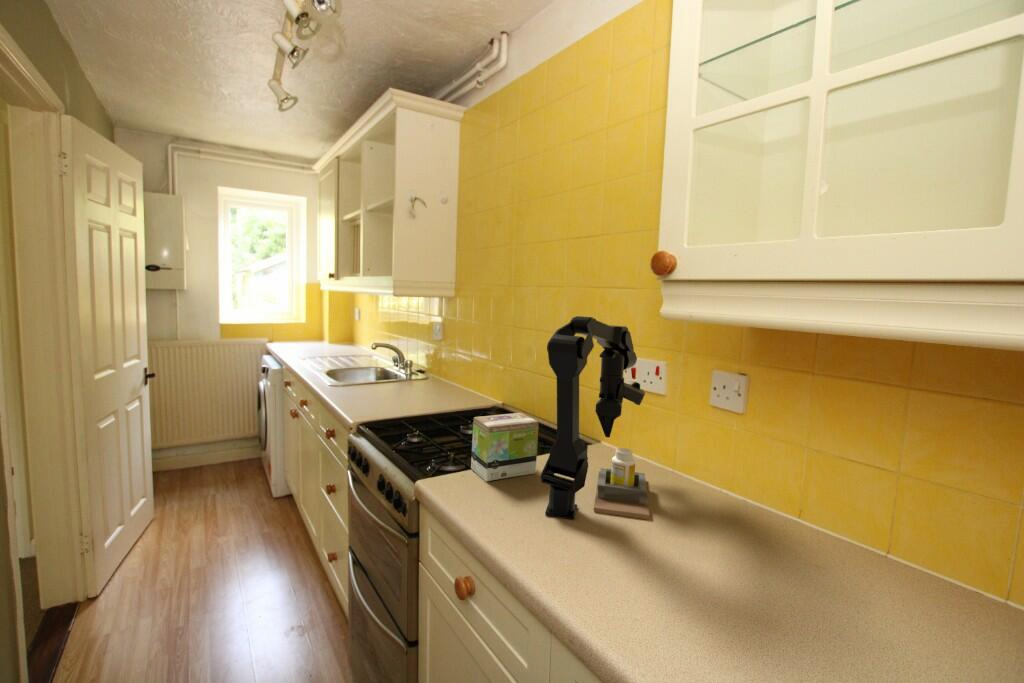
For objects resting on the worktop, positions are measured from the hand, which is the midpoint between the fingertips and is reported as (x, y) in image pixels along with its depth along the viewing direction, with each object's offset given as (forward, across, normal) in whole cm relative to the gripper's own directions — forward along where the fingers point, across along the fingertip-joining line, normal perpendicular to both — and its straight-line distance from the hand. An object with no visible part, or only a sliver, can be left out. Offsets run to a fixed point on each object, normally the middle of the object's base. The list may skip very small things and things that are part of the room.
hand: (608, 431), depth 124 cm
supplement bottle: (+12, -10, -4) cm, 16 cm away
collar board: (+12, -10, -4) cm, 17 cm away
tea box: (+12, -6, +27) cm, 30 cm away
